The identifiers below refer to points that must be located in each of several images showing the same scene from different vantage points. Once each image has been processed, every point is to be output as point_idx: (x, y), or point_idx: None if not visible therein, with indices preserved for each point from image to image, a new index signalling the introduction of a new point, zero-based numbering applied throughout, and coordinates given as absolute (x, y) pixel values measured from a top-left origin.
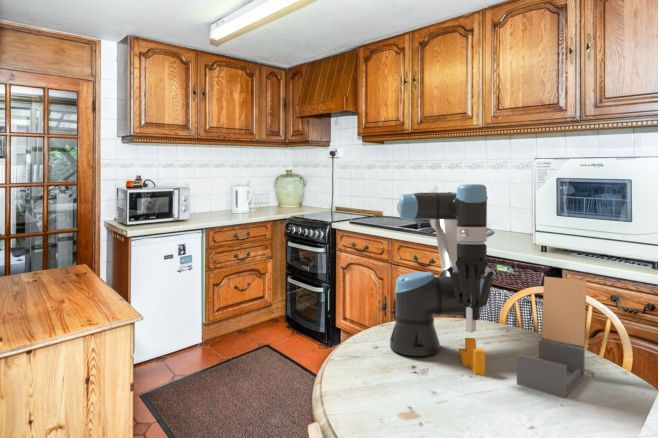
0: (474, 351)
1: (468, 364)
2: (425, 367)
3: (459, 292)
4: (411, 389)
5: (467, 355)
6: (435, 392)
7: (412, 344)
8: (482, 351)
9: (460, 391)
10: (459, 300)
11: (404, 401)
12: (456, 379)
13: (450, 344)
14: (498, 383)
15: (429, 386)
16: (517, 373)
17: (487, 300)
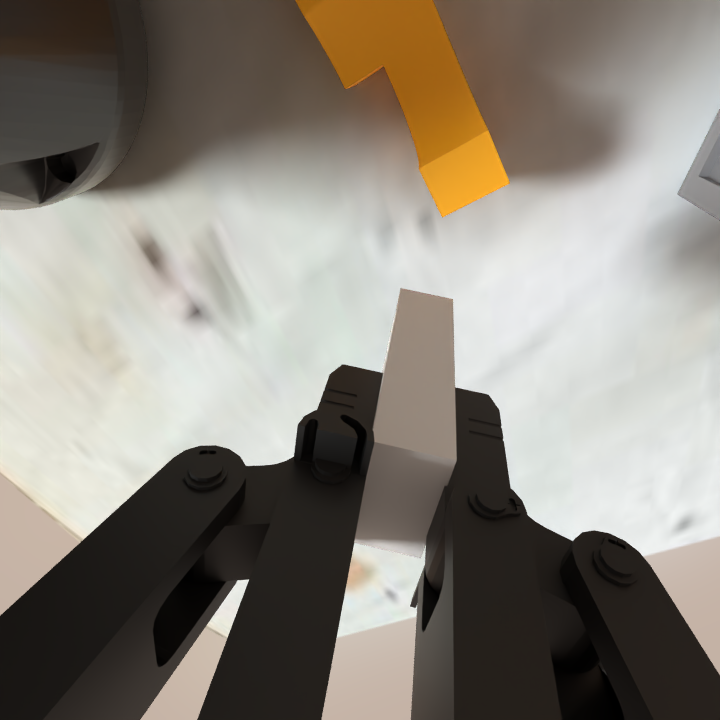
0: (433, 197)
1: (377, 70)
2: (198, 231)
3: (143, 687)
4: (275, 455)
5: (350, 17)
6: None
7: (32, 201)
8: (491, 191)
9: None
10: (223, 582)
11: None
12: (378, 296)
13: None
14: (576, 237)
15: (313, 410)
16: (707, 210)
17: (690, 641)
